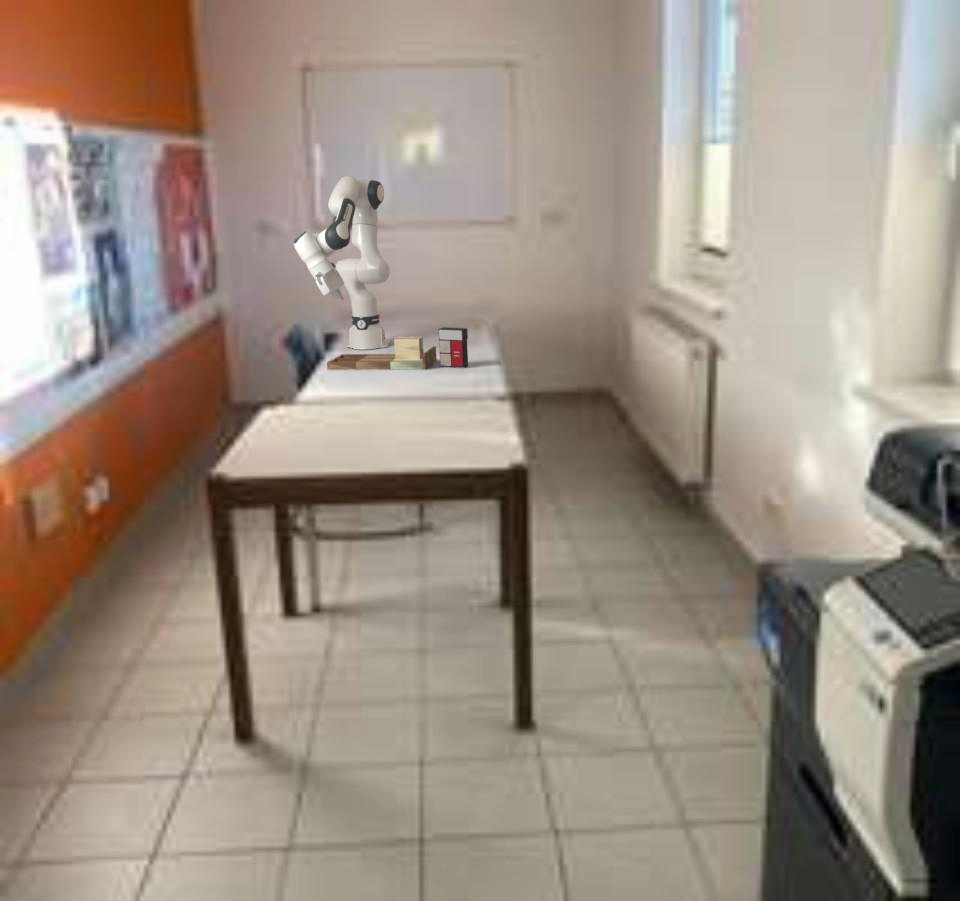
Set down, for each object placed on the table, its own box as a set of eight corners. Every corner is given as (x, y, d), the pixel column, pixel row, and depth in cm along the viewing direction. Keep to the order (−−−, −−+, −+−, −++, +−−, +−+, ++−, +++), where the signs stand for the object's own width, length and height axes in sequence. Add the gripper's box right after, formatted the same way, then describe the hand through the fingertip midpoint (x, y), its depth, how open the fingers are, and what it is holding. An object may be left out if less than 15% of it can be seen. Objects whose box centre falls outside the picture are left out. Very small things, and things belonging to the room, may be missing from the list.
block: (399, 356, 396) (398, 336, 394) (423, 356, 394) (422, 336, 392) (395, 359, 390) (394, 339, 388) (419, 359, 388) (418, 339, 386)
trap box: (342, 361, 408) (341, 347, 407) (436, 361, 400) (435, 346, 399) (327, 369, 391) (326, 354, 390) (425, 369, 383) (424, 354, 382)
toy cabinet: (439, 367, 388) (437, 328, 384) (444, 365, 391) (442, 327, 387) (463, 368, 383) (462, 329, 379) (469, 366, 386) (467, 328, 382)
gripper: (321, 271, 382) (341, 301, 385) (335, 262, 401) (354, 292, 404) (308, 279, 384) (328, 309, 387) (323, 270, 403) (342, 299, 406)
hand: (341, 300), depth 396 cm, fingers closed
